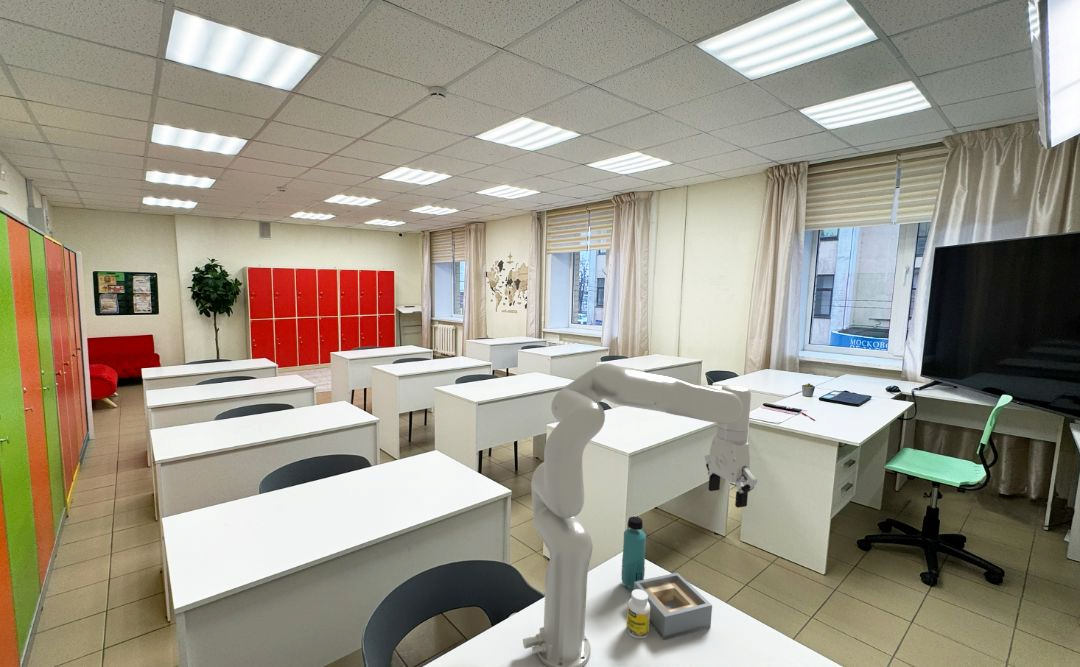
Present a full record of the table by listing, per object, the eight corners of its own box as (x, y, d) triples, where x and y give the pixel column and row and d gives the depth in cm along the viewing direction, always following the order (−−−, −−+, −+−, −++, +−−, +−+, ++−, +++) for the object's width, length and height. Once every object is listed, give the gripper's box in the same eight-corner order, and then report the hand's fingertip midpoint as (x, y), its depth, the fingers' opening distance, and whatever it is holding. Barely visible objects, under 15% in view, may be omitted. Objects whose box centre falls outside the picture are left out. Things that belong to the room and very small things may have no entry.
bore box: (663, 640, 111) (665, 616, 111) (632, 602, 124) (634, 581, 124) (710, 627, 116) (712, 605, 116) (676, 592, 129) (677, 572, 129)
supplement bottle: (623, 634, 113) (625, 596, 112) (630, 620, 118) (632, 584, 117) (645, 642, 110) (647, 604, 109) (651, 628, 115) (653, 591, 114)
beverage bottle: (634, 596, 127) (638, 527, 125) (615, 584, 132) (619, 518, 130) (648, 587, 131) (652, 520, 129) (629, 576, 136) (633, 511, 134)
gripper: (697, 425, 125) (693, 486, 126) (745, 446, 109) (740, 515, 110) (719, 423, 127) (715, 483, 129) (770, 443, 111) (764, 511, 113)
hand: (726, 498), depth 120 cm, fingers open, 9 cm apart
